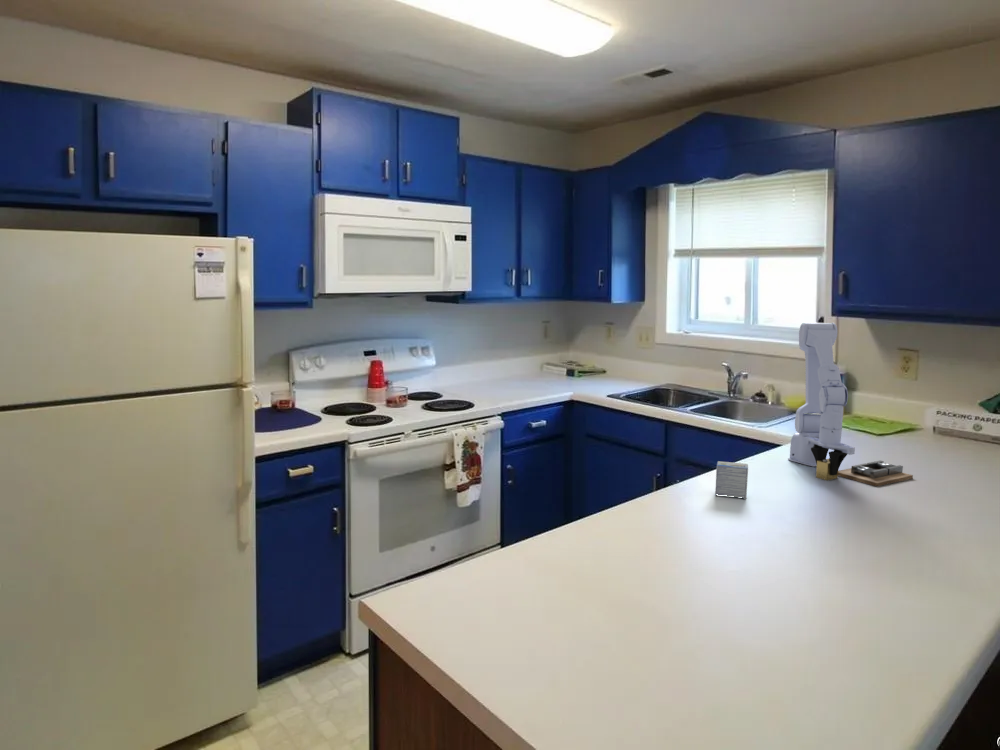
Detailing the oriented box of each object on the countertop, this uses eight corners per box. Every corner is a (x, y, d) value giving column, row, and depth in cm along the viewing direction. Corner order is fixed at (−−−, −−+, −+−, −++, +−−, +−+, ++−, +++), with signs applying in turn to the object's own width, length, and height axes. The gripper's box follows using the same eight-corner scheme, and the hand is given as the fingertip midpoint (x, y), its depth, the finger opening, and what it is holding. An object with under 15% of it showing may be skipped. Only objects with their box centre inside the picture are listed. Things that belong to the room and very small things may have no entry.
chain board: (834, 474, 202) (834, 471, 202) (870, 467, 211) (870, 464, 210) (876, 486, 191) (877, 483, 191) (912, 478, 199) (912, 475, 199)
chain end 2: (866, 469, 205) (866, 463, 204) (879, 466, 208) (880, 460, 207) (888, 475, 199) (889, 468, 198) (902, 472, 202) (902, 466, 201)
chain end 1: (851, 472, 201) (851, 466, 201) (865, 469, 204) (865, 463, 204) (873, 478, 195) (874, 472, 195) (887, 475, 198) (888, 469, 198)
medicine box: (746, 495, 183) (748, 463, 182) (746, 500, 179) (748, 467, 177) (715, 491, 185) (717, 460, 184) (714, 496, 181) (716, 464, 180)
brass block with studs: (815, 477, 200) (817, 458, 199) (826, 475, 202) (828, 456, 201) (826, 480, 196) (828, 461, 196) (837, 478, 199) (839, 459, 198)
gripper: (799, 423, 201) (796, 468, 203) (845, 433, 189) (841, 481, 191) (815, 421, 205) (812, 465, 207) (861, 431, 192) (856, 478, 194)
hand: (827, 473), depth 199 cm, fingers closed on brass block with studs, 3 cm apart
